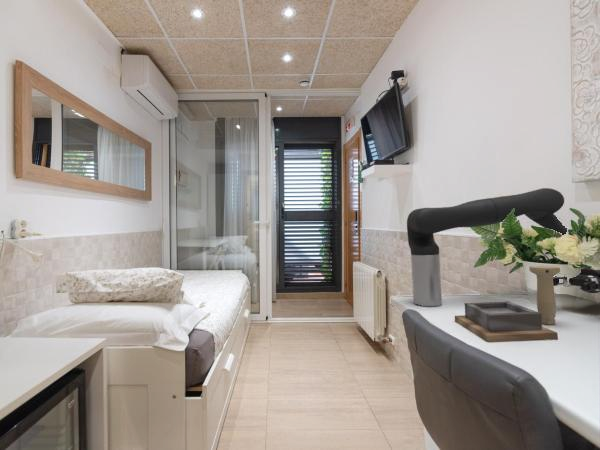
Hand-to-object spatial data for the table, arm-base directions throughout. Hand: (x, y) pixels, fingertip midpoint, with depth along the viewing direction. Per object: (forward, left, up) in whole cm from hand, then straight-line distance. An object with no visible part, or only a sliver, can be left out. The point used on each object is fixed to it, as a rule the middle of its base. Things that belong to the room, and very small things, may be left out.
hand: (566, 285), depth 87 cm
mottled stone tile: (+7, -23, -5) cm, 25 cm away
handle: (+4, -9, -9) cm, 14 cm away
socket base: (+7, -23, -9) cm, 26 cm away
